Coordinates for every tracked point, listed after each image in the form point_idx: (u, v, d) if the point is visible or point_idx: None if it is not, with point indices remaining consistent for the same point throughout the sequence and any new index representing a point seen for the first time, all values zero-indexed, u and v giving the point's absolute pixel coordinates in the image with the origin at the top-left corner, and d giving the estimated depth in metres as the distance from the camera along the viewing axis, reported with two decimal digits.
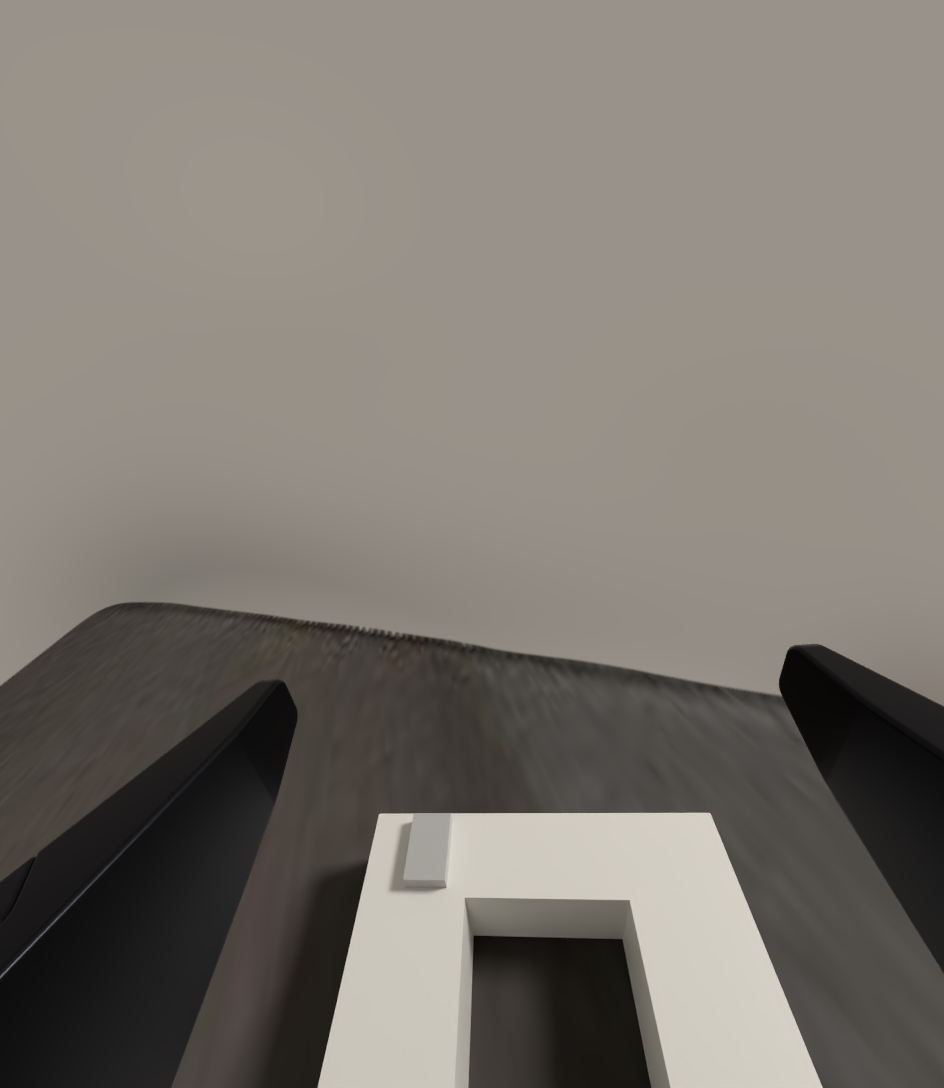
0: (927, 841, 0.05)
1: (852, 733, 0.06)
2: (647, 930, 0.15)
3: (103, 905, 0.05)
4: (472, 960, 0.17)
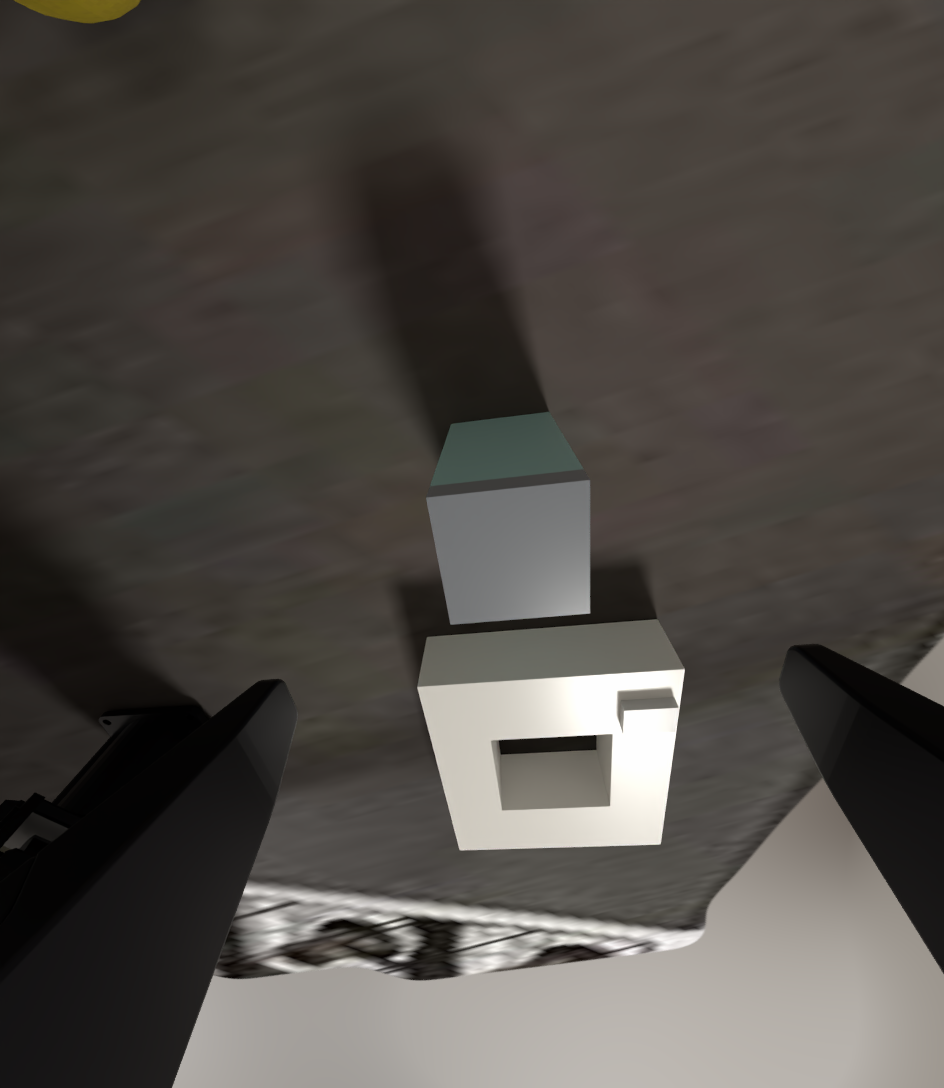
0: (927, 841, 0.05)
1: (852, 733, 0.06)
2: (594, 810, 0.24)
3: (103, 905, 0.05)
4: None
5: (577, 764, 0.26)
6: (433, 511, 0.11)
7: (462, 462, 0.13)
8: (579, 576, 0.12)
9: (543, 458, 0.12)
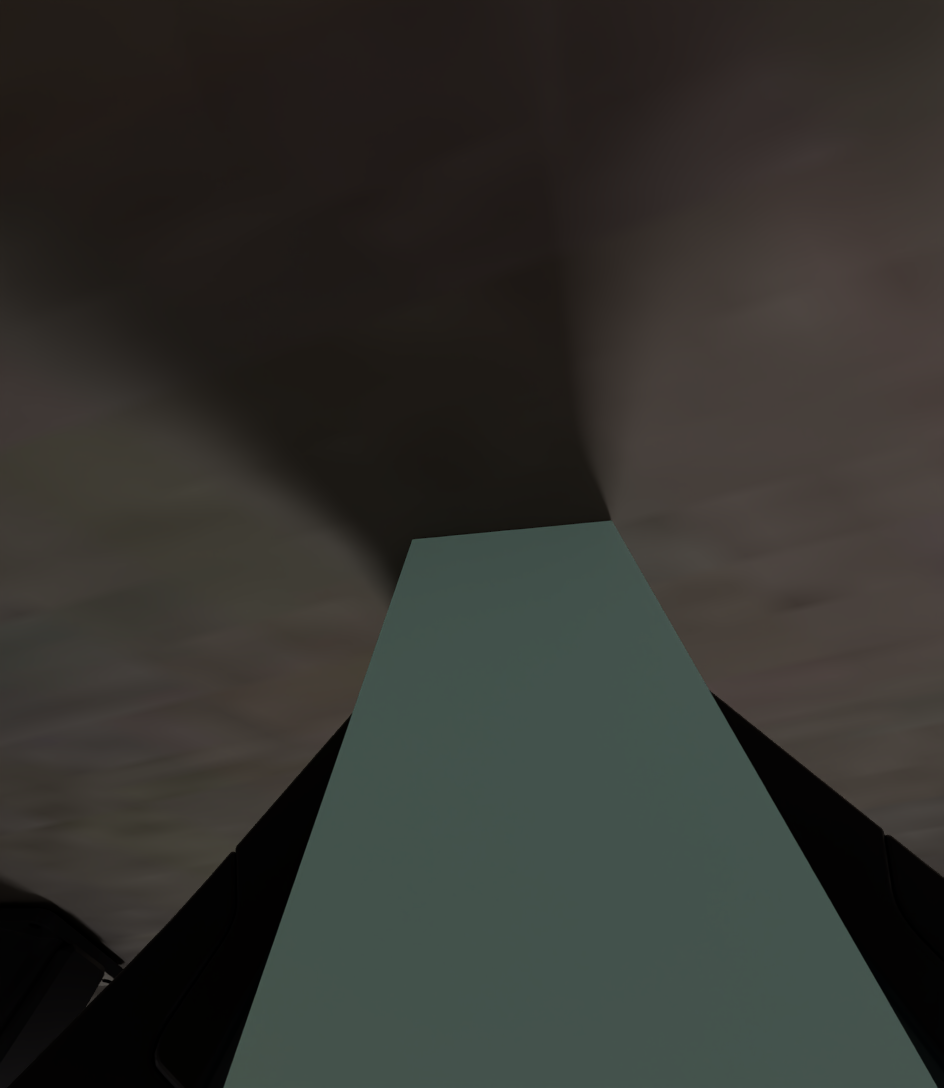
0: None
1: None
2: None
3: None
4: None
5: None
6: None
7: (399, 810, 0.04)
8: None
9: (688, 872, 0.03)
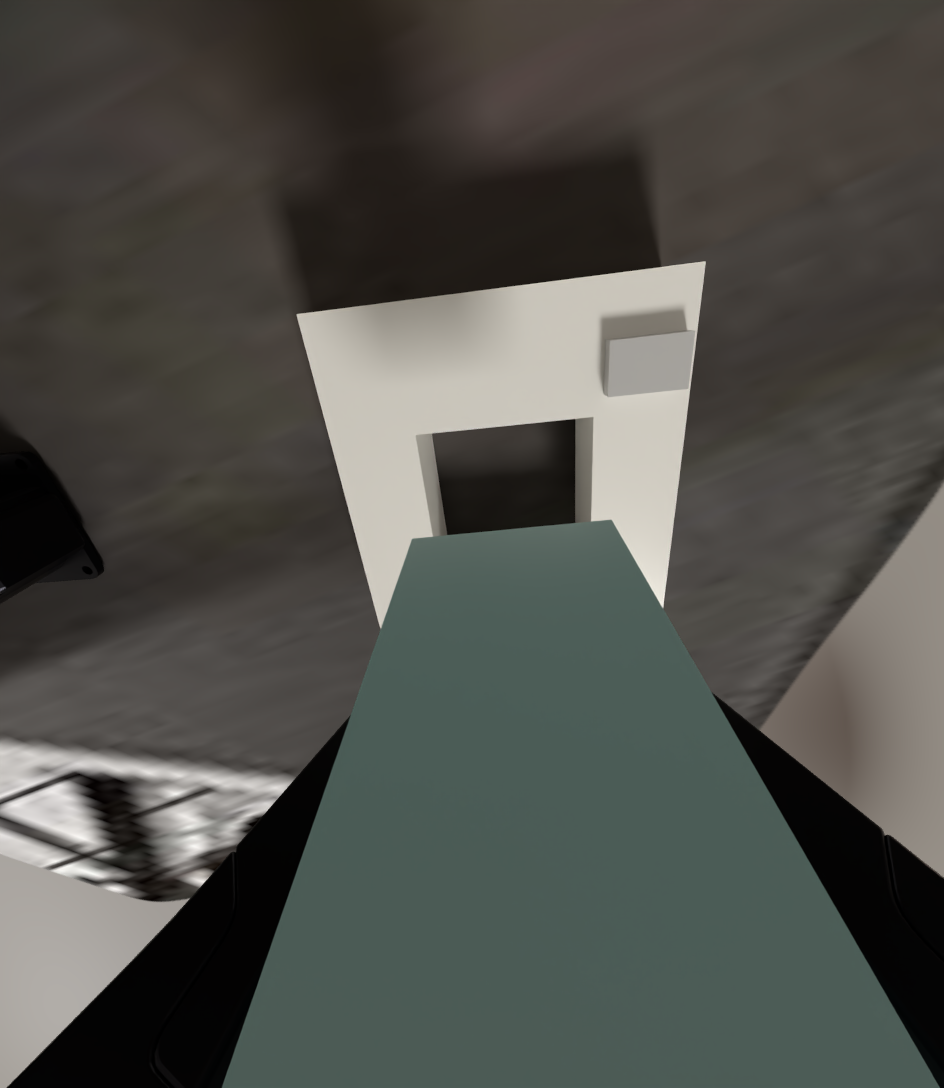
0: None
1: None
2: None
3: None
4: None
5: None
6: None
7: (398, 808, 0.04)
8: None
9: (688, 869, 0.03)
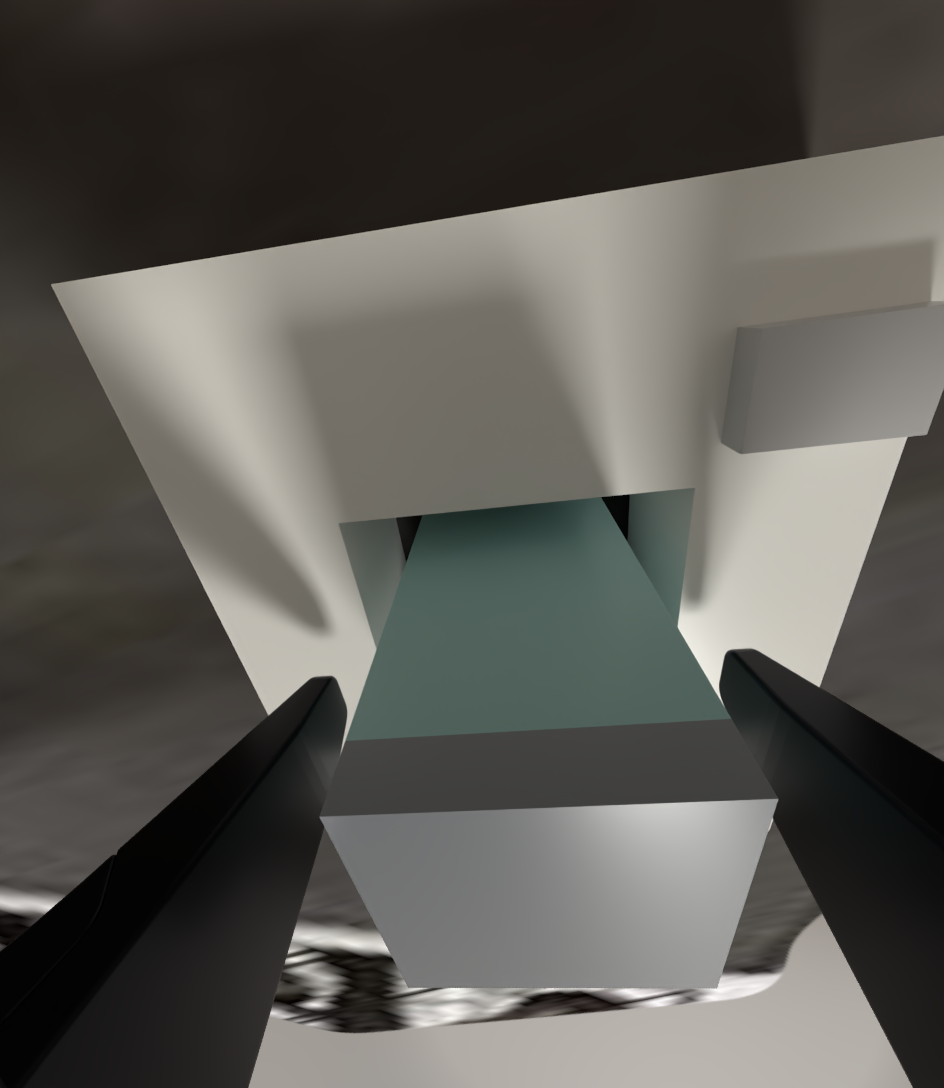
0: (840, 843, 0.05)
1: (775, 737, 0.06)
2: None
3: (189, 904, 0.05)
4: None
5: None
6: (342, 842, 0.04)
7: (434, 631, 0.06)
8: (705, 943, 0.05)
9: (611, 643, 0.05)
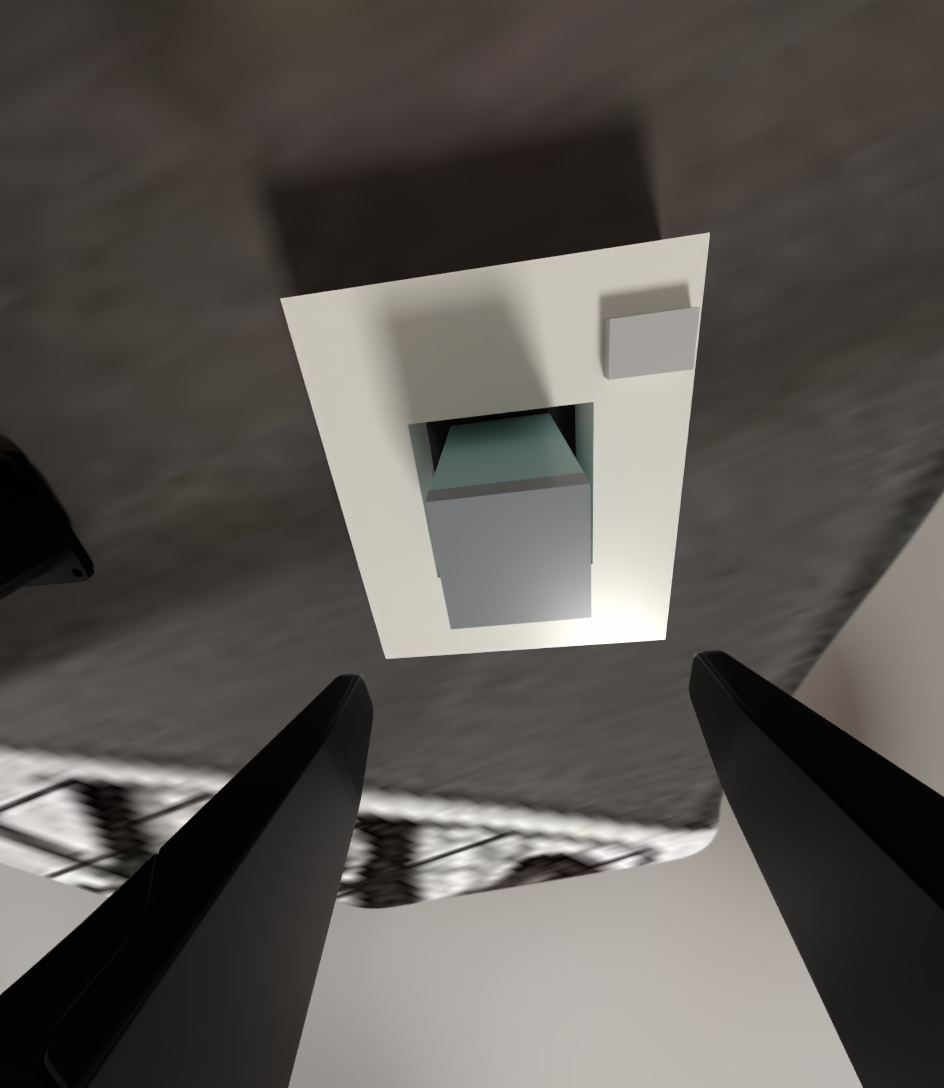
0: (795, 844, 0.05)
1: (737, 739, 0.06)
2: None
3: (234, 904, 0.04)
4: None
5: None
6: (432, 516, 0.11)
7: (462, 465, 0.13)
8: (580, 580, 0.11)
9: (543, 461, 0.12)
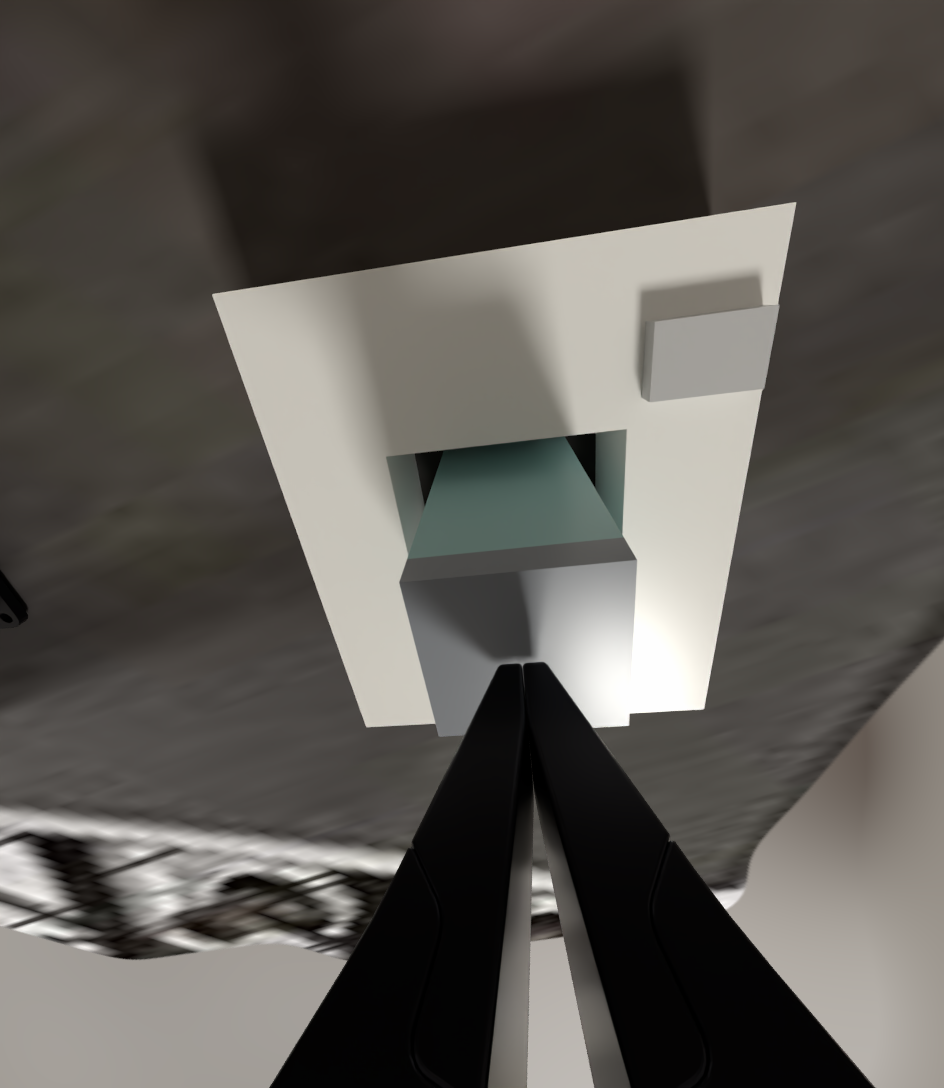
0: None
1: (530, 748, 0.06)
2: None
3: (511, 899, 0.04)
4: None
5: None
6: (410, 600, 0.08)
7: (454, 516, 0.10)
8: (616, 681, 0.08)
9: (564, 514, 0.09)
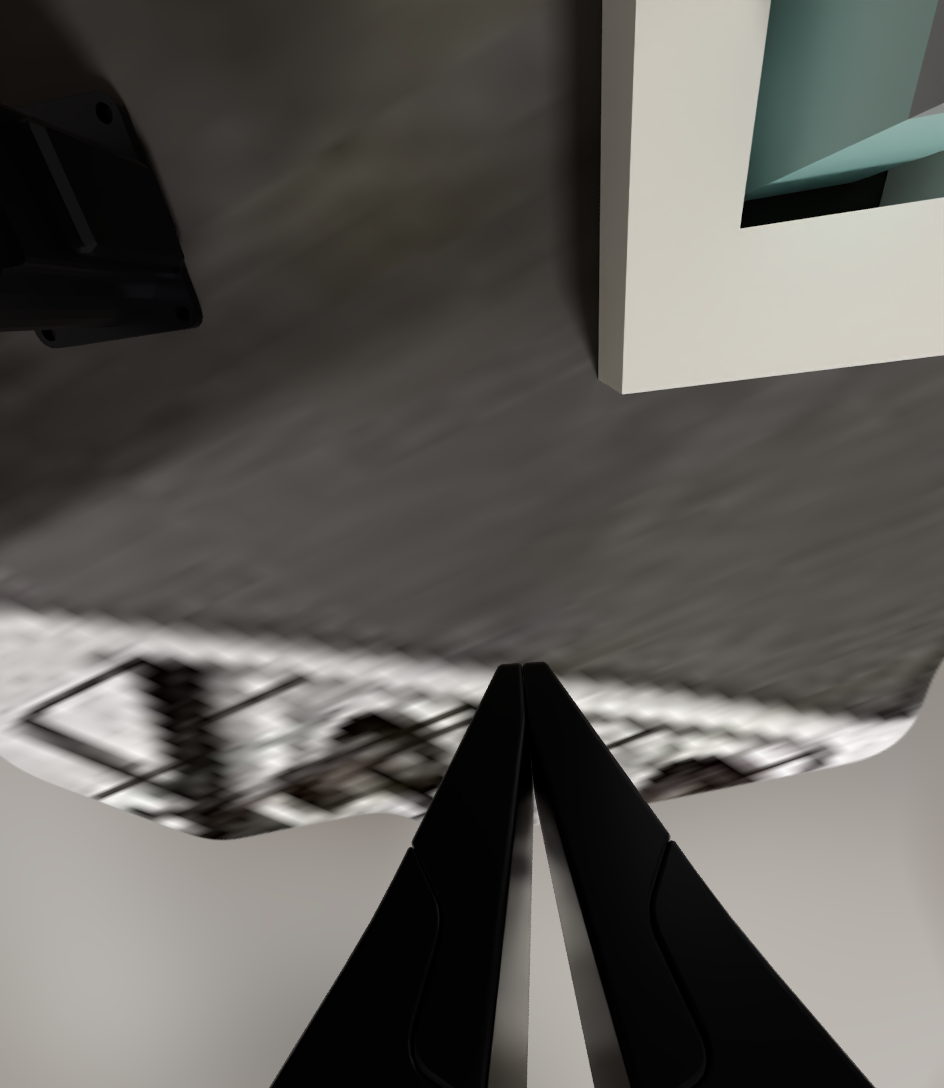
0: None
1: (530, 748, 0.06)
2: (940, 214, 0.11)
3: (511, 899, 0.04)
4: None
5: None
6: None
7: None
8: None
9: None
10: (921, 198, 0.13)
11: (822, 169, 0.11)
